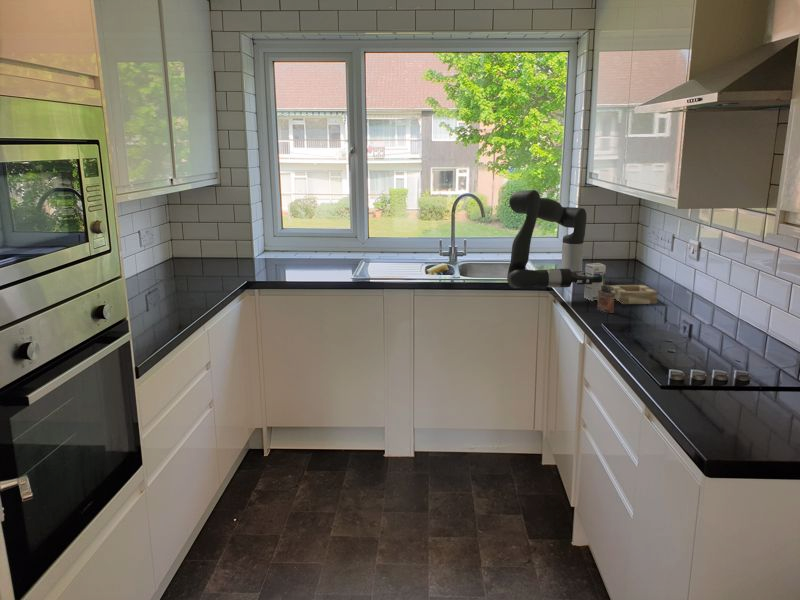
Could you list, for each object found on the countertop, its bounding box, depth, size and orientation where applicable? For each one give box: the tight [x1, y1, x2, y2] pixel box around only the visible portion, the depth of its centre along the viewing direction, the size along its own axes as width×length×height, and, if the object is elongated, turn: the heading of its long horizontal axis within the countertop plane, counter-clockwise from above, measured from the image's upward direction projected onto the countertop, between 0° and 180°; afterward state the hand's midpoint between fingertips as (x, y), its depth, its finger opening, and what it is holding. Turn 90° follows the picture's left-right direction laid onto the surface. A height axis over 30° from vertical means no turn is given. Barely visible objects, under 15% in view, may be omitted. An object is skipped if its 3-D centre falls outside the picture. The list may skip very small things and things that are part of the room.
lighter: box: [596, 284, 615, 314], centre depth 235 cm, size 8×3×10 cm, turn 21°
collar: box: [609, 284, 659, 305], centre depth 252 cm, size 14×14×4 cm
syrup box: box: [583, 262, 607, 302], centre depth 253 cm, size 6×6×14 cm
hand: (597, 277), depth 252 cm, fingers open, 8 cm apart
